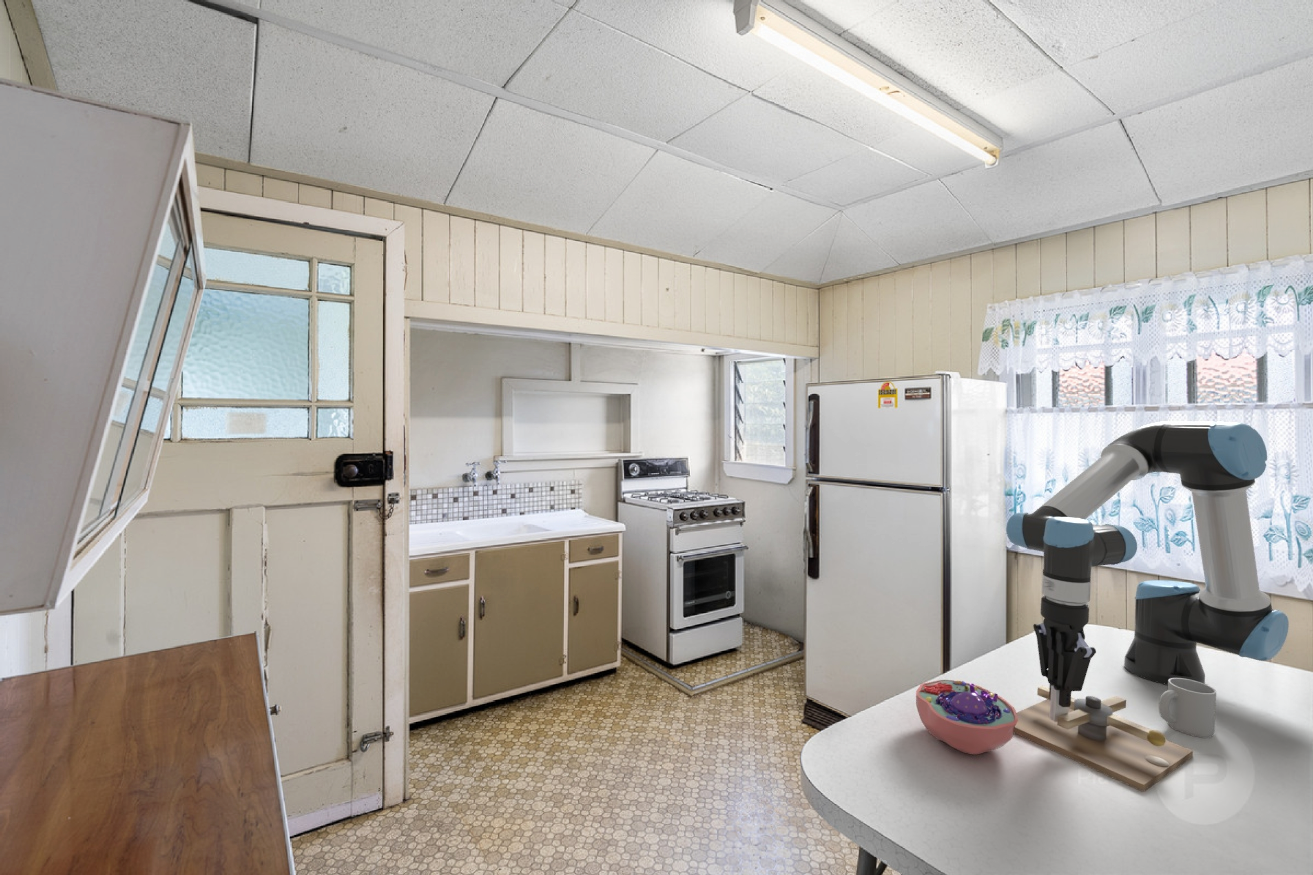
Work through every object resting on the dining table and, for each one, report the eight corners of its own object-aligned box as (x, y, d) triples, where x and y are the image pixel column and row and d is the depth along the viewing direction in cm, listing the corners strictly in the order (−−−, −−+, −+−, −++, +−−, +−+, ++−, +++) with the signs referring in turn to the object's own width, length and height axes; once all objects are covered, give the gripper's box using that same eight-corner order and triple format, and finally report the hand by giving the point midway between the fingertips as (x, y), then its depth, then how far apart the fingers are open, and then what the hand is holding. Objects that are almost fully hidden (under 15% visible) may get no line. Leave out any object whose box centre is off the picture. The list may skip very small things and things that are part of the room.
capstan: (1009, 705, 118) (1010, 686, 118) (1067, 687, 127) (1068, 669, 127) (1134, 762, 99) (1135, 740, 99) (1192, 736, 108) (1193, 715, 108)
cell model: (1000, 725, 119) (1002, 670, 119) (1027, 782, 100) (1029, 717, 100) (910, 710, 125) (912, 658, 125) (920, 762, 106) (921, 700, 106)
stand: (1052, 701, 130) (1053, 683, 130) (1192, 756, 109) (1193, 734, 109) (999, 725, 119) (999, 705, 119) (1143, 791, 98) (1144, 767, 98)
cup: (1224, 738, 116) (1226, 694, 115) (1175, 738, 115) (1177, 693, 115) (1190, 719, 123) (1192, 677, 123) (1144, 719, 123) (1145, 677, 122)
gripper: (1022, 588, 117) (1017, 703, 118) (1072, 611, 104) (1066, 739, 106) (1058, 588, 118) (1052, 702, 119) (1112, 610, 105) (1105, 738, 106)
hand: (1058, 719), depth 112 cm, fingers closed
